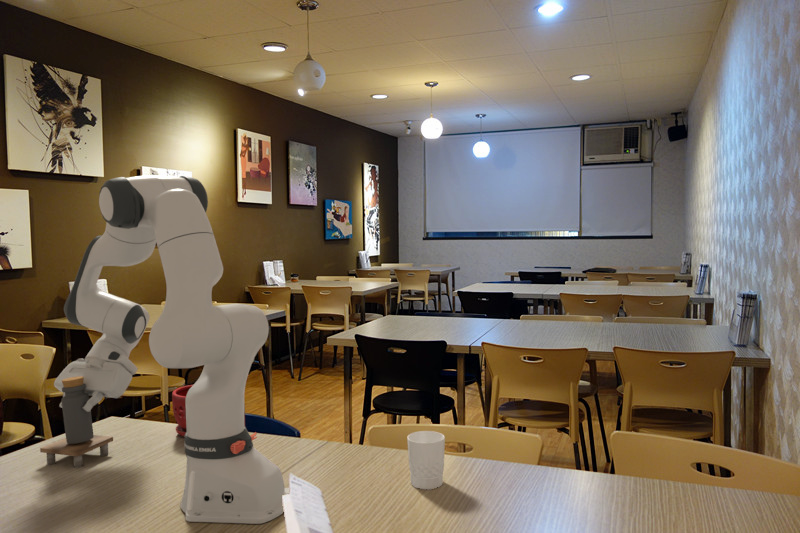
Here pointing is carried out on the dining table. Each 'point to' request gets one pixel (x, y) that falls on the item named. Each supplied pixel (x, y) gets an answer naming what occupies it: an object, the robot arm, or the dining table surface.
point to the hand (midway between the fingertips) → (73, 409)
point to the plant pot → (179, 412)
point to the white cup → (426, 459)
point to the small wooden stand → (76, 449)
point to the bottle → (76, 411)
